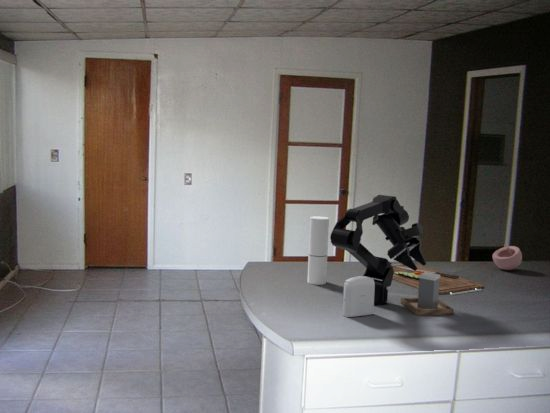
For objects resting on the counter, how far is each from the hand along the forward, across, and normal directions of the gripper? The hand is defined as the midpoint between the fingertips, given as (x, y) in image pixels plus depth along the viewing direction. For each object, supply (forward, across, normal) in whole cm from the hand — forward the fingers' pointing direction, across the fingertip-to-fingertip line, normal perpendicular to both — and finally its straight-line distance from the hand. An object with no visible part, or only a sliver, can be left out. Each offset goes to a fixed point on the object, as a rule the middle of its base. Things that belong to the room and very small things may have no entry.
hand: (420, 267), depth 184 cm
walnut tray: (+12, 0, +7) cm, 14 cm away
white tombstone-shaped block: (+1, -20, +19) cm, 28 cm away
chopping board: (+3, +40, +18) cm, 44 cm away
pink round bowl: (+19, +80, 0) cm, 82 cm away
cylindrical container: (-19, +6, +40) cm, 44 cm away
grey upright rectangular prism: (+12, 0, +7) cm, 13 cm away
